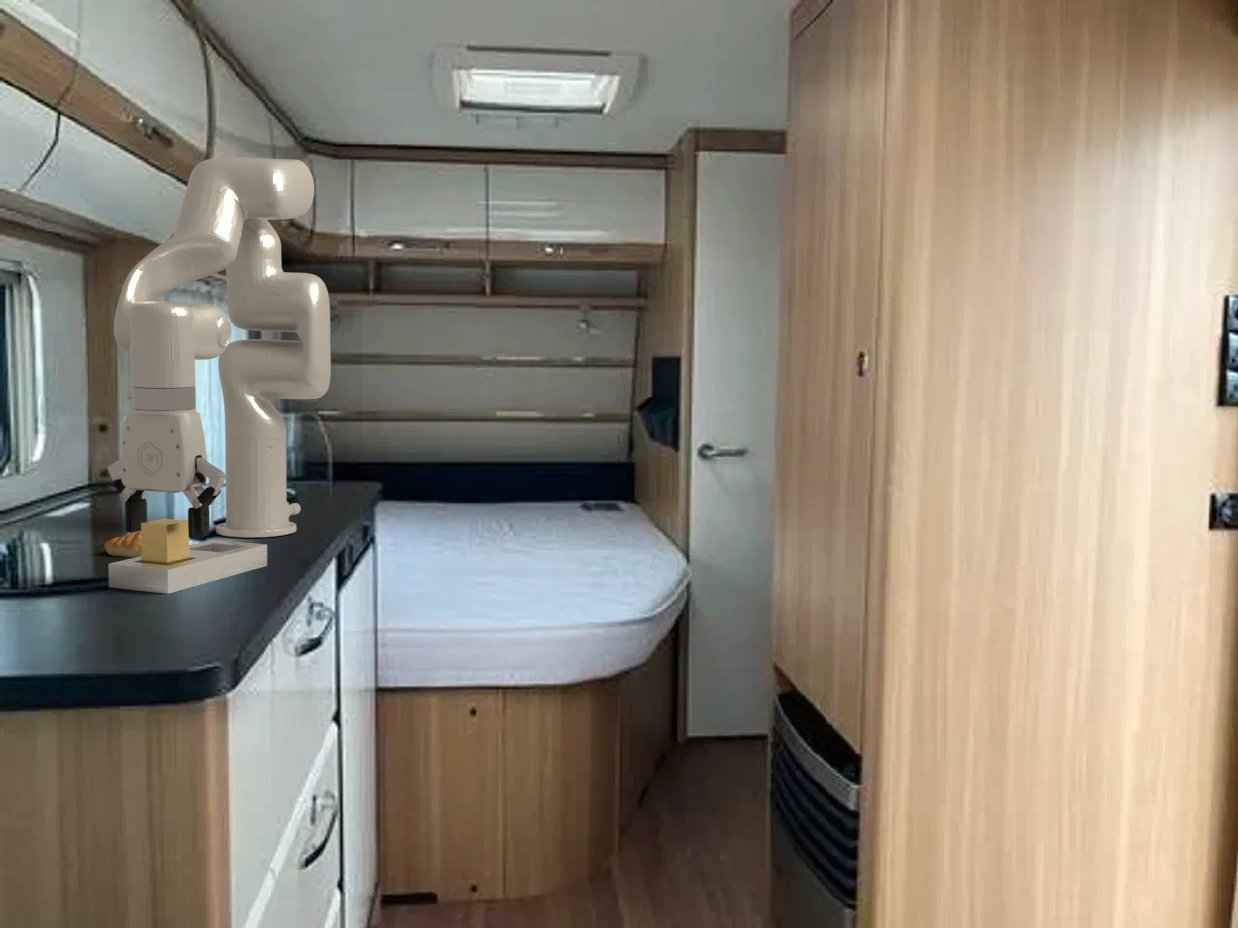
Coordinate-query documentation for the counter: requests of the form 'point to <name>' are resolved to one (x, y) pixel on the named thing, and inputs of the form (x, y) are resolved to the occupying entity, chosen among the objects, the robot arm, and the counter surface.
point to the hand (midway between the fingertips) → (167, 533)
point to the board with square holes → (189, 567)
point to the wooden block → (165, 541)
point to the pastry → (125, 545)
